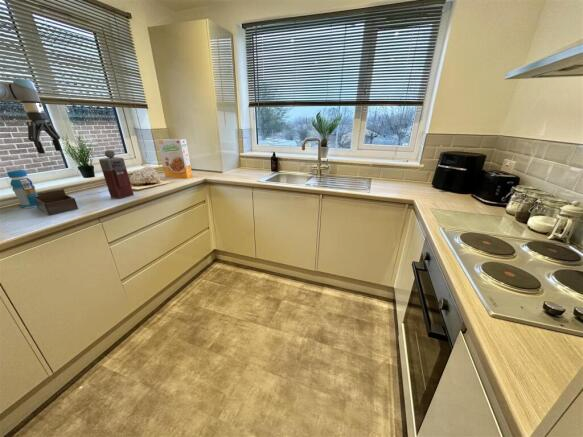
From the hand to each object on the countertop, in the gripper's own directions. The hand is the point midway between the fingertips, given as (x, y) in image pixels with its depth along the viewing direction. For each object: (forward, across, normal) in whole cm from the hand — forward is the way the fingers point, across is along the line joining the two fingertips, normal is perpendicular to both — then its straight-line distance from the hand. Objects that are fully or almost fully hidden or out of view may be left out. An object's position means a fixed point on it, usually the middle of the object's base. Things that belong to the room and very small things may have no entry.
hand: (50, 152), depth 138 cm
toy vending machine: (+28, -5, -33) cm, 44 cm away
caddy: (+28, -21, -7) cm, 36 cm away
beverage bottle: (+28, -13, +11) cm, 33 cm away
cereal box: (+28, +46, -55) cm, 77 cm away
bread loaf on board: (+28, +23, -37) cm, 51 cm away
